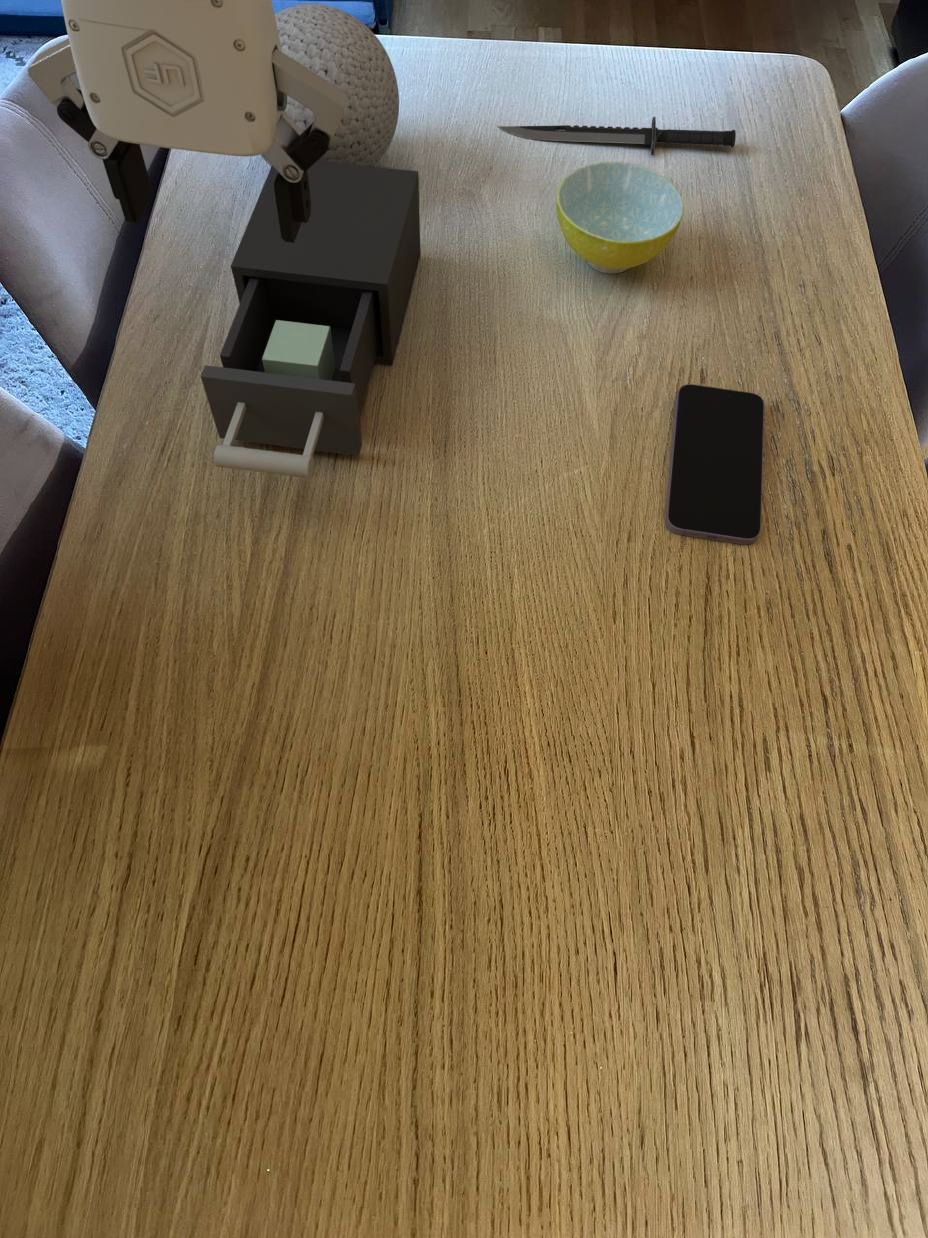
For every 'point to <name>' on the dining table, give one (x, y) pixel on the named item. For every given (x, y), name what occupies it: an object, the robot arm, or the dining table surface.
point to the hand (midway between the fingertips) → (216, 218)
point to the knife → (623, 135)
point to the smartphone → (716, 465)
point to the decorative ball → (343, 79)
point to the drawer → (292, 377)
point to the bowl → (618, 214)
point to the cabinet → (343, 239)
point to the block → (300, 351)
